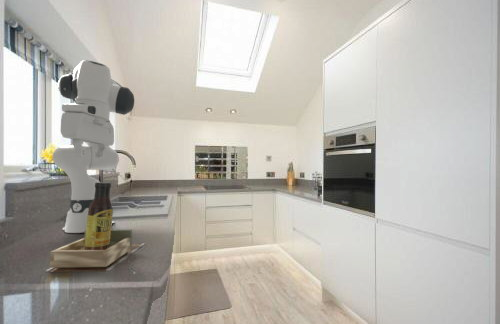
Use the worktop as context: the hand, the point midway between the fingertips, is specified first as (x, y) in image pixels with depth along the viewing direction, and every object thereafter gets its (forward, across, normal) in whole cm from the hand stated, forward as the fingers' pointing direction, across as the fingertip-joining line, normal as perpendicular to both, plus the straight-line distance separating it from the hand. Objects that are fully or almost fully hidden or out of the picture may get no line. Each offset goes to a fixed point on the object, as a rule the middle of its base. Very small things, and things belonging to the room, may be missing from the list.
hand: (90, 157), depth 69 cm
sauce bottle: (+28, +3, +6) cm, 28 cm away
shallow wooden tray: (+30, +4, +6) cm, 31 cm away
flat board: (+31, 0, +6) cm, 32 cm away
